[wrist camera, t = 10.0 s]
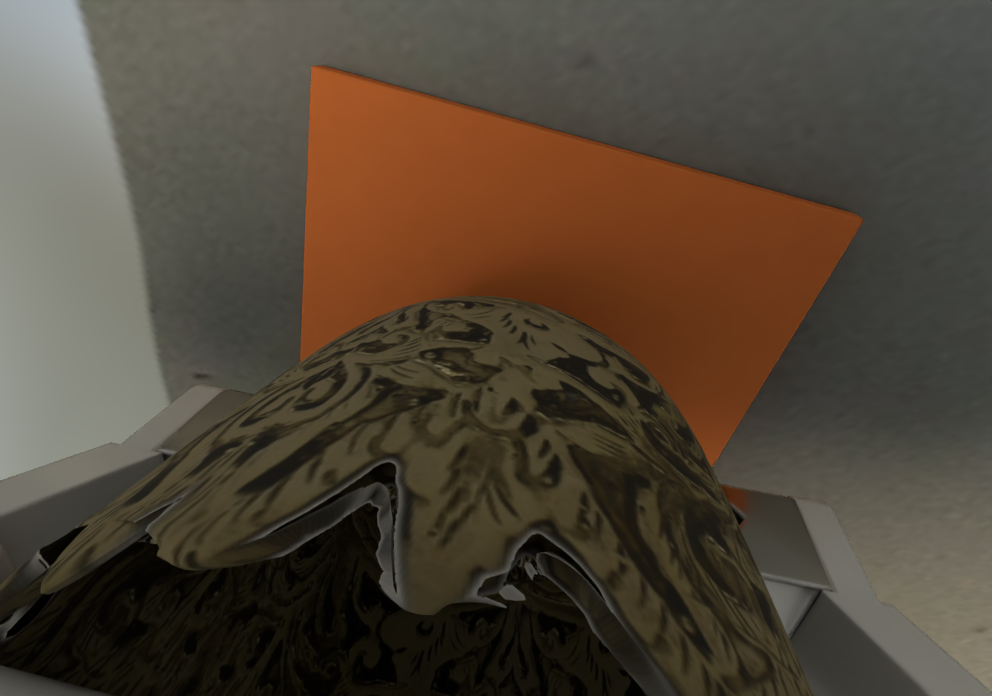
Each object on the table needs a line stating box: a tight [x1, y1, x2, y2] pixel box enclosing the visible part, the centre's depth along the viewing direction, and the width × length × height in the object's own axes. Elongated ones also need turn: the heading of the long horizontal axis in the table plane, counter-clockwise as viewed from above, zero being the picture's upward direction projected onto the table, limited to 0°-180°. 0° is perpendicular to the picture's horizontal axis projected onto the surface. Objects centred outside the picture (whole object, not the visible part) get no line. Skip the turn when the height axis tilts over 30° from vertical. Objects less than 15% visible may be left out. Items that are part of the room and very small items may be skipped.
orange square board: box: [300, 65, 863, 467], centre depth 11 cm, size 10×10×1 cm
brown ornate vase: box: [0, 296, 814, 696], centre depth 8 cm, size 8×7×8 cm
